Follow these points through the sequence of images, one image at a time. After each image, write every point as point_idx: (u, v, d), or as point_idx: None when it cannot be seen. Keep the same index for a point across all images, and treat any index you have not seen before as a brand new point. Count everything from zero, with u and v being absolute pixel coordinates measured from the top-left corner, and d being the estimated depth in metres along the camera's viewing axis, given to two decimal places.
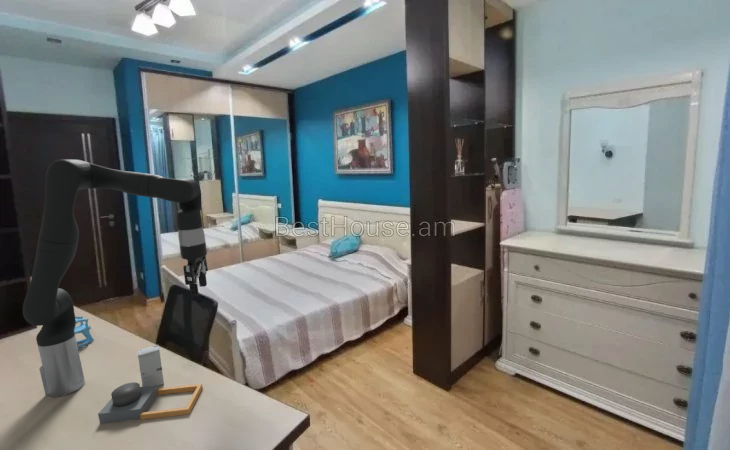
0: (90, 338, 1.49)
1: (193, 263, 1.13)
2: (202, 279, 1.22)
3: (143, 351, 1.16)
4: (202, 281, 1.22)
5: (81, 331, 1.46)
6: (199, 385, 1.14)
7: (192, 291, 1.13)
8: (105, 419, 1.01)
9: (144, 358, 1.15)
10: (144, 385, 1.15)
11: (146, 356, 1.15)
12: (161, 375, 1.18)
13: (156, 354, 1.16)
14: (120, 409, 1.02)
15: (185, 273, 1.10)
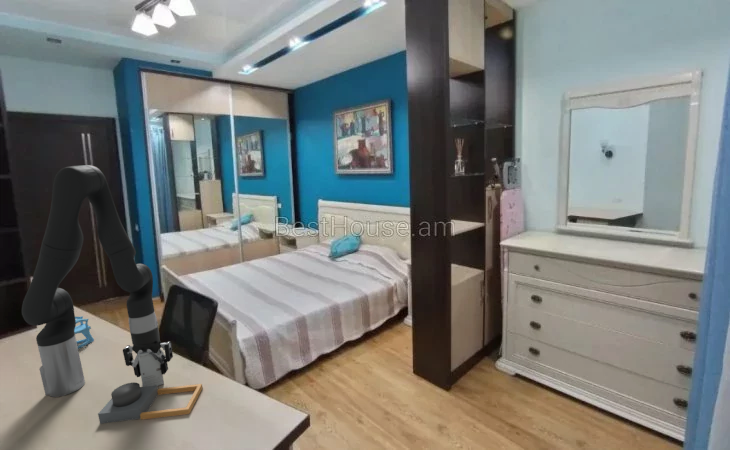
0: (90, 338, 1.49)
1: (161, 342, 1.17)
2: (139, 368, 1.17)
3: None
4: (139, 370, 1.17)
5: (81, 331, 1.46)
6: (199, 385, 1.14)
7: (166, 368, 1.18)
8: (105, 419, 1.01)
9: (144, 358, 1.15)
10: (144, 385, 1.15)
11: (146, 356, 1.15)
12: (161, 375, 1.18)
13: None
14: (120, 409, 1.02)
15: (169, 350, 1.17)
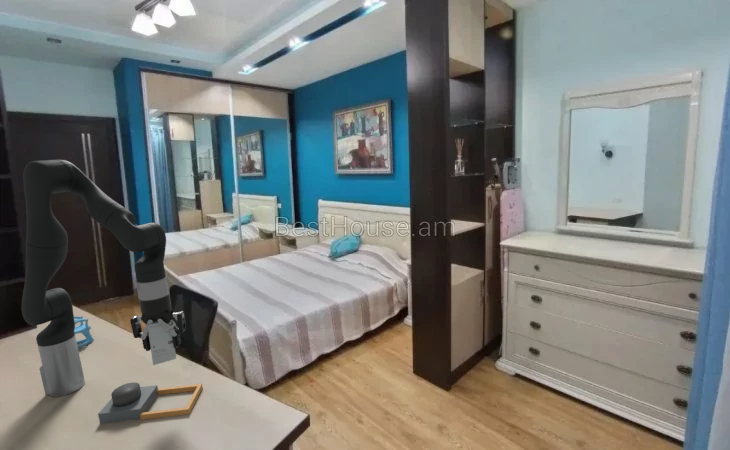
0: (90, 338, 1.49)
1: None
2: (149, 341, 1.05)
3: None
4: (149, 343, 1.05)
5: (81, 331, 1.46)
6: (199, 385, 1.14)
7: (179, 341, 1.06)
8: (105, 419, 1.01)
9: (155, 329, 1.02)
10: (154, 359, 1.03)
11: (156, 327, 1.02)
12: (173, 349, 1.05)
13: None
14: (120, 409, 1.02)
15: (182, 320, 1.04)
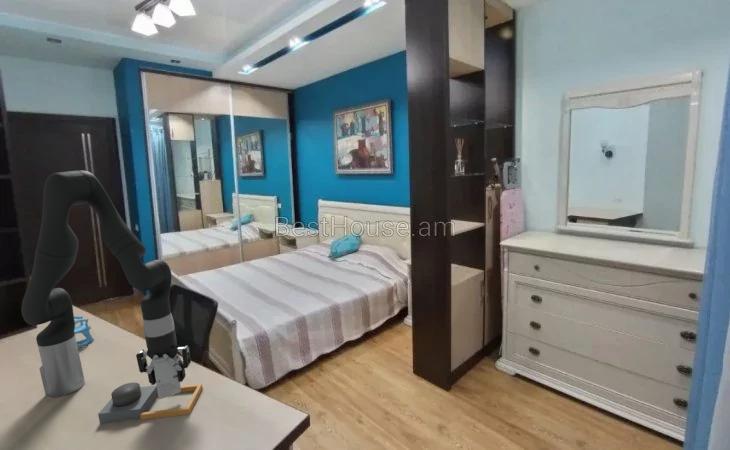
0: (90, 338, 1.49)
1: None
2: (154, 375, 1.07)
3: None
4: (154, 377, 1.07)
5: (81, 331, 1.46)
6: (199, 385, 1.14)
7: (183, 375, 1.07)
8: (105, 419, 1.01)
9: (160, 364, 1.04)
10: (160, 394, 1.05)
11: (162, 362, 1.04)
12: (178, 383, 1.07)
13: None
14: (120, 409, 1.02)
15: (187, 355, 1.06)
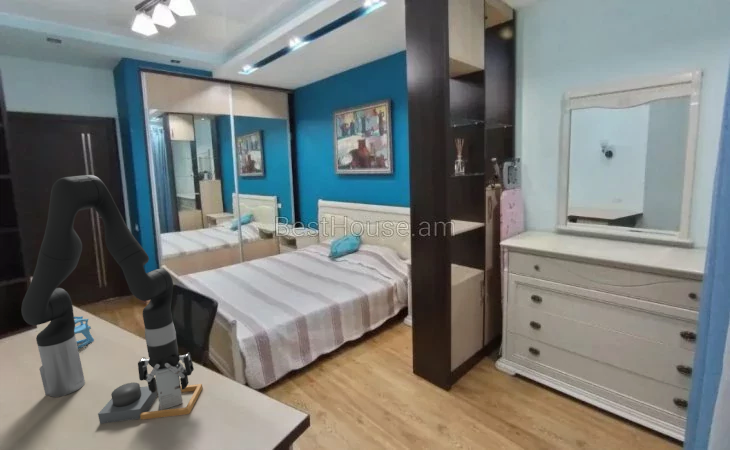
0: (90, 338, 1.49)
1: None
2: (154, 383, 1.07)
3: None
4: (154, 385, 1.07)
5: (81, 331, 1.46)
6: (199, 385, 1.14)
7: (186, 382, 1.08)
8: (105, 419, 1.01)
9: (162, 375, 1.05)
10: (161, 405, 1.05)
11: (163, 374, 1.05)
12: (180, 394, 1.08)
13: None
14: (120, 409, 1.02)
15: (189, 363, 1.06)
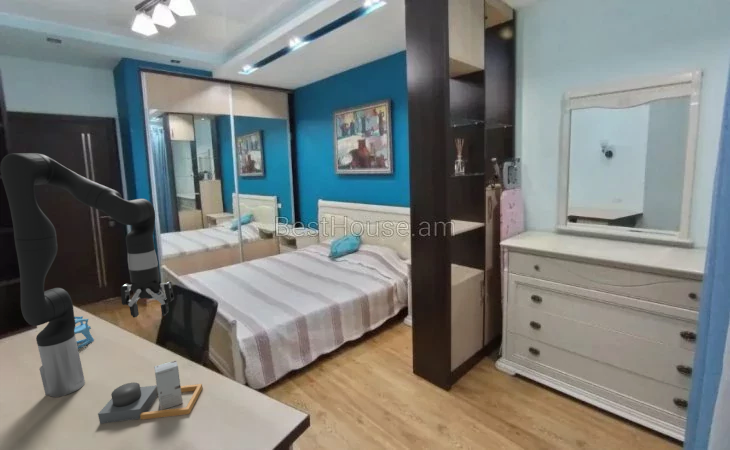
0: (90, 338, 1.49)
1: (160, 282, 1.12)
2: (136, 308, 1.12)
3: (160, 368, 1.06)
4: (136, 310, 1.12)
5: (81, 331, 1.46)
6: (199, 385, 1.14)
7: (167, 309, 1.13)
8: (105, 419, 1.01)
9: (162, 375, 1.05)
10: (161, 405, 1.05)
11: (163, 374, 1.05)
12: (180, 394, 1.08)
13: (174, 371, 1.06)
14: (120, 409, 1.02)
15: (169, 290, 1.11)
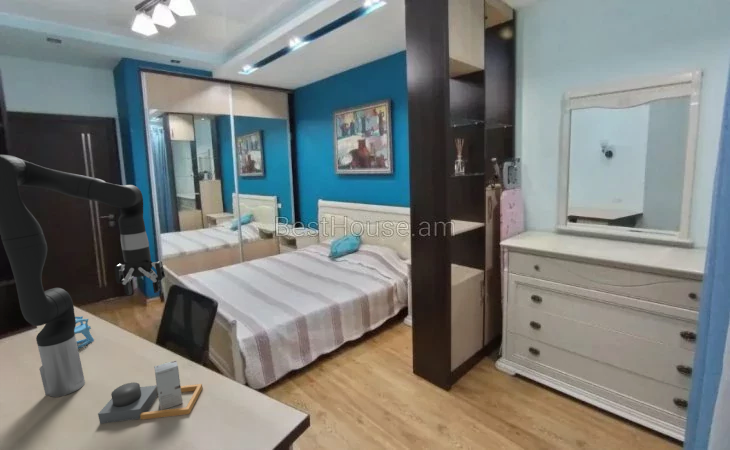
0: (90, 338, 1.49)
1: (151, 262, 1.21)
2: (129, 287, 1.21)
3: (160, 368, 1.06)
4: (130, 288, 1.21)
5: (81, 331, 1.46)
6: (199, 385, 1.14)
7: (158, 287, 1.22)
8: (105, 419, 1.01)
9: (162, 375, 1.05)
10: (161, 405, 1.05)
11: (163, 374, 1.05)
12: (180, 394, 1.08)
13: (174, 371, 1.06)
14: (120, 409, 1.02)
15: (160, 268, 1.21)
